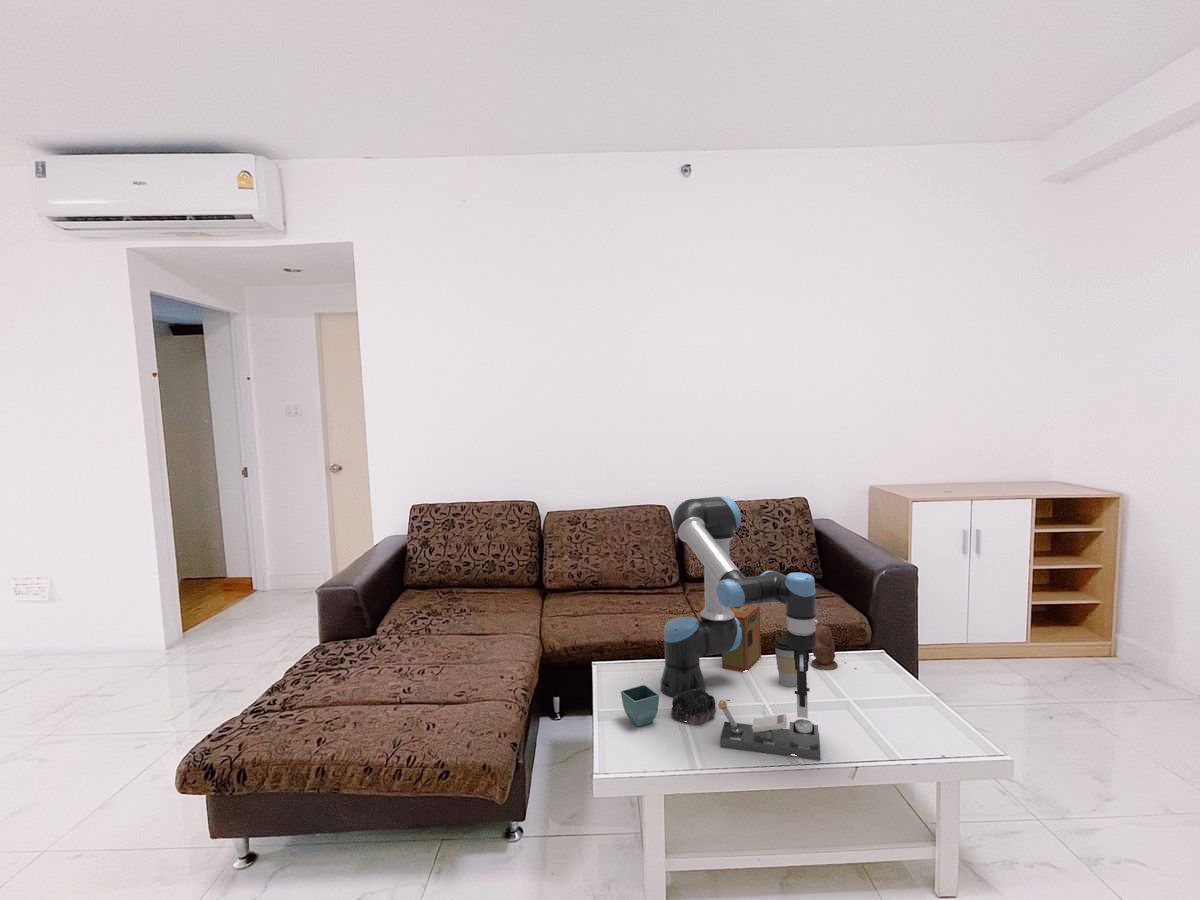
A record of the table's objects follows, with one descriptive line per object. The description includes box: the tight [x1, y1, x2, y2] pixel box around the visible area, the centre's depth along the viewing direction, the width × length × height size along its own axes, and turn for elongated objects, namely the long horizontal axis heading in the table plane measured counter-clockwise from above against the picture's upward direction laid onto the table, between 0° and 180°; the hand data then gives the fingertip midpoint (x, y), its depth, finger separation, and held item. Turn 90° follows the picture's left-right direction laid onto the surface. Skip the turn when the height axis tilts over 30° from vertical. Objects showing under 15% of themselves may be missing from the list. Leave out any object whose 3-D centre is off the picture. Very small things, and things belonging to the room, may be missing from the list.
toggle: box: [717, 699, 737, 728], centre depth 170 cm, size 2×2×8 cm
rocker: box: [752, 713, 788, 732], centre depth 167 cm, size 9×6×1 cm, turn 72°
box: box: [721, 604, 762, 673], centre depth 225 cm, size 17×9×20 cm, turn 147°
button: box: [794, 718, 813, 735], centre depth 164 cm, size 4×4×4 cm
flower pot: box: [620, 684, 660, 727], centre depth 182 cm, size 9×9×9 cm
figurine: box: [810, 624, 838, 671], centre depth 220 cm, size 9×10×15 cm
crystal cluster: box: [671, 687, 717, 726], centre depth 185 cm, size 13×14×10 cm
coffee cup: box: [772, 635, 797, 688], centre depth 206 cm, size 9×9×15 cm
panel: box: [719, 721, 821, 761], centre depth 167 cm, size 26×10×5 cm, turn 71°
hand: (802, 716), depth 164 cm, fingers closed
